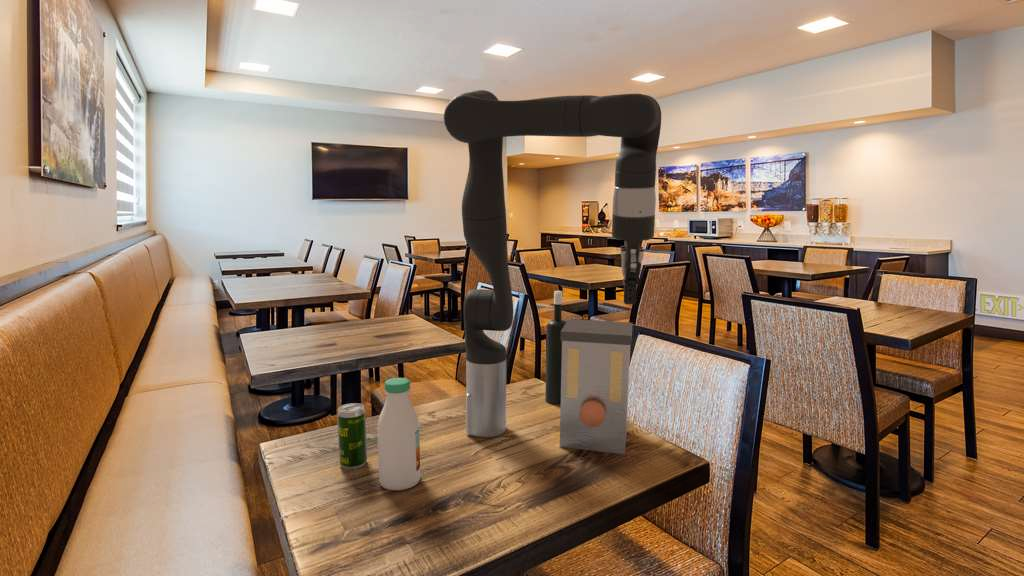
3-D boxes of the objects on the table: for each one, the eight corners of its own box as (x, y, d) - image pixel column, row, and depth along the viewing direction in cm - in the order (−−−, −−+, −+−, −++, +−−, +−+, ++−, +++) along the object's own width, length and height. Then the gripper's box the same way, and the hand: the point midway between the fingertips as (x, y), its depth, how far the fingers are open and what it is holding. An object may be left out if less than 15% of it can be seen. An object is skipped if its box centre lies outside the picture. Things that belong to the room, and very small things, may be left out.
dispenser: (626, 455, 115) (631, 335, 110) (558, 447, 118) (560, 331, 114) (627, 431, 127) (632, 322, 123) (566, 424, 130) (568, 319, 126)
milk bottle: (411, 494, 99) (408, 389, 96) (372, 489, 100) (368, 386, 97) (426, 473, 106) (424, 375, 103) (389, 469, 108) (386, 373, 105)
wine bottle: (568, 398, 148) (571, 289, 143) (564, 405, 142) (567, 293, 138) (547, 395, 149) (549, 288, 145) (543, 403, 144) (545, 292, 139)
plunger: (604, 428, 113) (604, 404, 112) (579, 425, 114) (579, 402, 113) (608, 404, 126) (609, 382, 125) (585, 402, 127) (586, 381, 126)
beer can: (357, 455, 114) (355, 400, 112) (372, 463, 110) (370, 407, 108) (334, 464, 110) (331, 408, 108) (349, 473, 106) (347, 415, 104)
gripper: (658, 218, 90) (653, 315, 95) (651, 206, 103) (647, 293, 108) (613, 218, 91) (610, 314, 97) (611, 206, 104) (608, 292, 109)
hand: (629, 302), depth 102 cm, fingers closed
